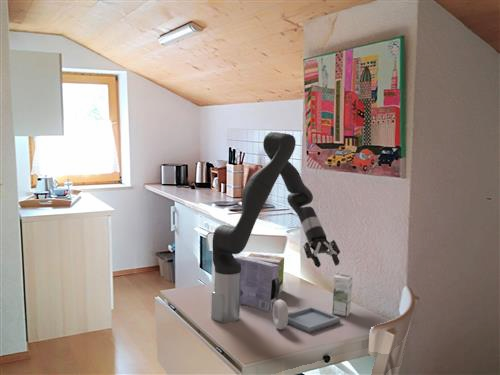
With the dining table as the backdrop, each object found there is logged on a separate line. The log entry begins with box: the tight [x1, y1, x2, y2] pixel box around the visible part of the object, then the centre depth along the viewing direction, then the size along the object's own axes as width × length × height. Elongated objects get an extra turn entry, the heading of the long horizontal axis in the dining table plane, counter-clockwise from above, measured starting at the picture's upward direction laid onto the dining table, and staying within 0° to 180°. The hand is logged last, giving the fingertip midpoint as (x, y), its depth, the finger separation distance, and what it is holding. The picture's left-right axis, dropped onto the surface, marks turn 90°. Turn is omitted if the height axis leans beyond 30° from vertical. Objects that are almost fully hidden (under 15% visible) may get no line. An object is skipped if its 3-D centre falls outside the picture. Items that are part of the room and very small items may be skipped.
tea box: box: [246, 252, 285, 296], centre depth 214 cm, size 15×10×15 cm, turn 73°
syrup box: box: [331, 273, 353, 317], centre depth 191 cm, size 6×6×14 cm
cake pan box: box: [234, 255, 280, 313], centre depth 196 cm, size 19×5×18 cm, turn 54°
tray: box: [287, 306, 341, 334], centre depth 182 cm, size 16×14×2 cm
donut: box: [272, 299, 289, 331], centre depth 175 cm, size 10×4×10 cm, turn 13°
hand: (328, 265), depth 199 cm, fingers open, 8 cm apart
